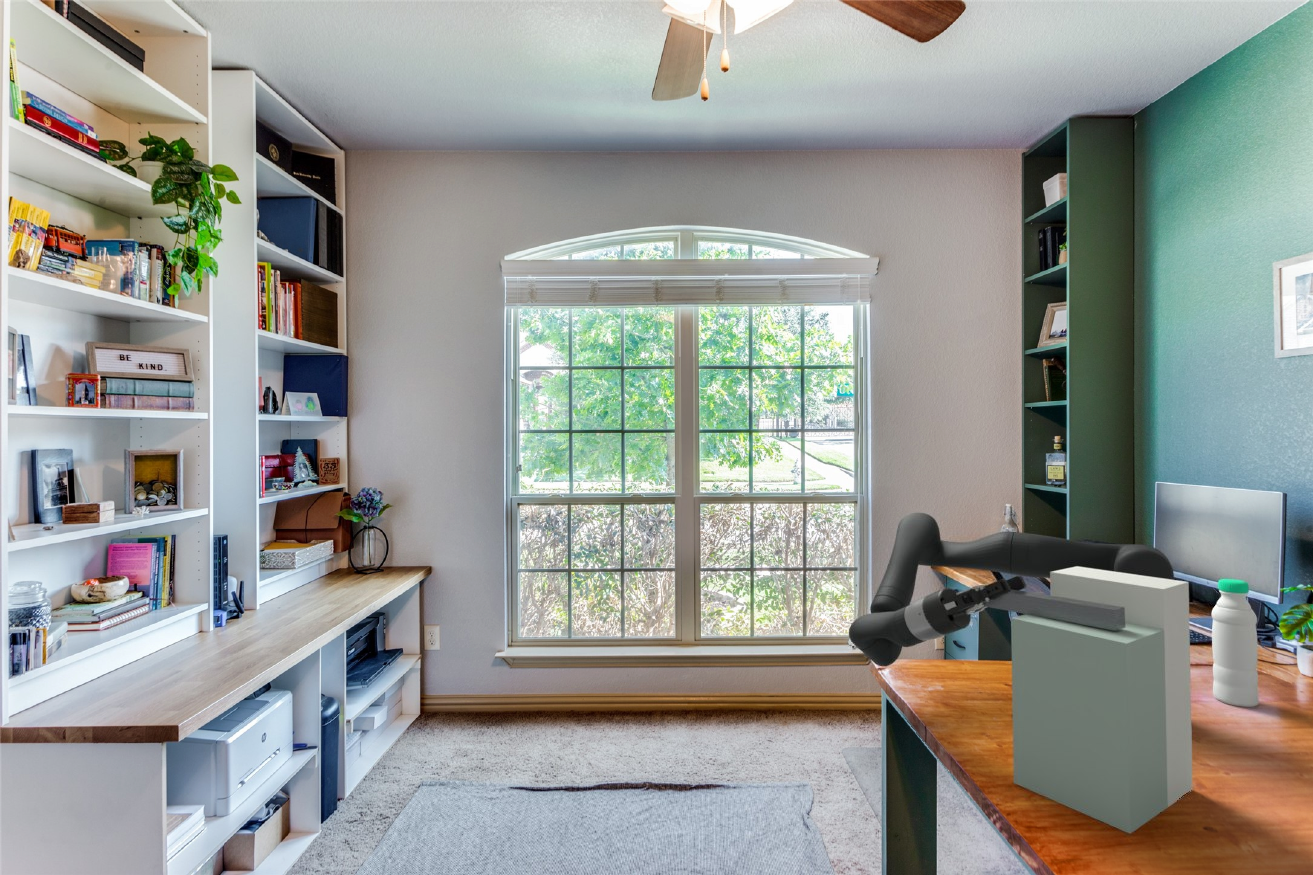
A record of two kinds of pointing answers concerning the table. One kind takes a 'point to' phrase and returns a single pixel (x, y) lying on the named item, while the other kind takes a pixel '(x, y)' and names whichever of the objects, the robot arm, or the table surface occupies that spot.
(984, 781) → the table surface
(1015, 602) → the steel bar
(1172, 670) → the stepped stand
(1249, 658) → the water bottle
